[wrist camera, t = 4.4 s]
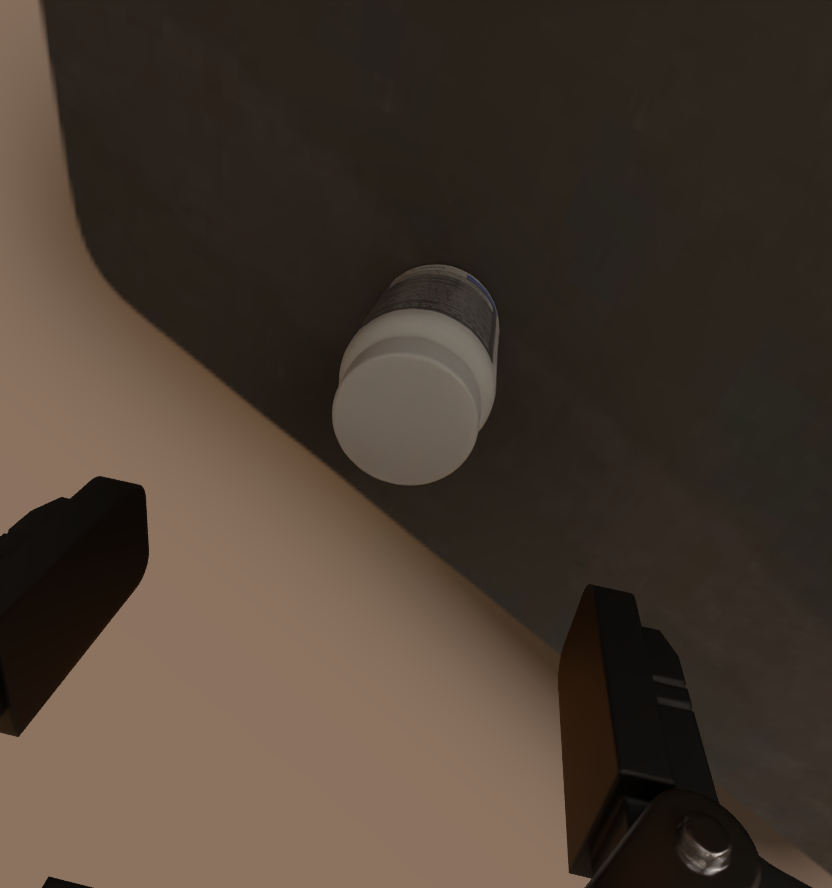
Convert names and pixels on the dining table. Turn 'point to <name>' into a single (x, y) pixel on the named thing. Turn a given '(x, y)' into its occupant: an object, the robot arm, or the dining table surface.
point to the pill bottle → (419, 377)
